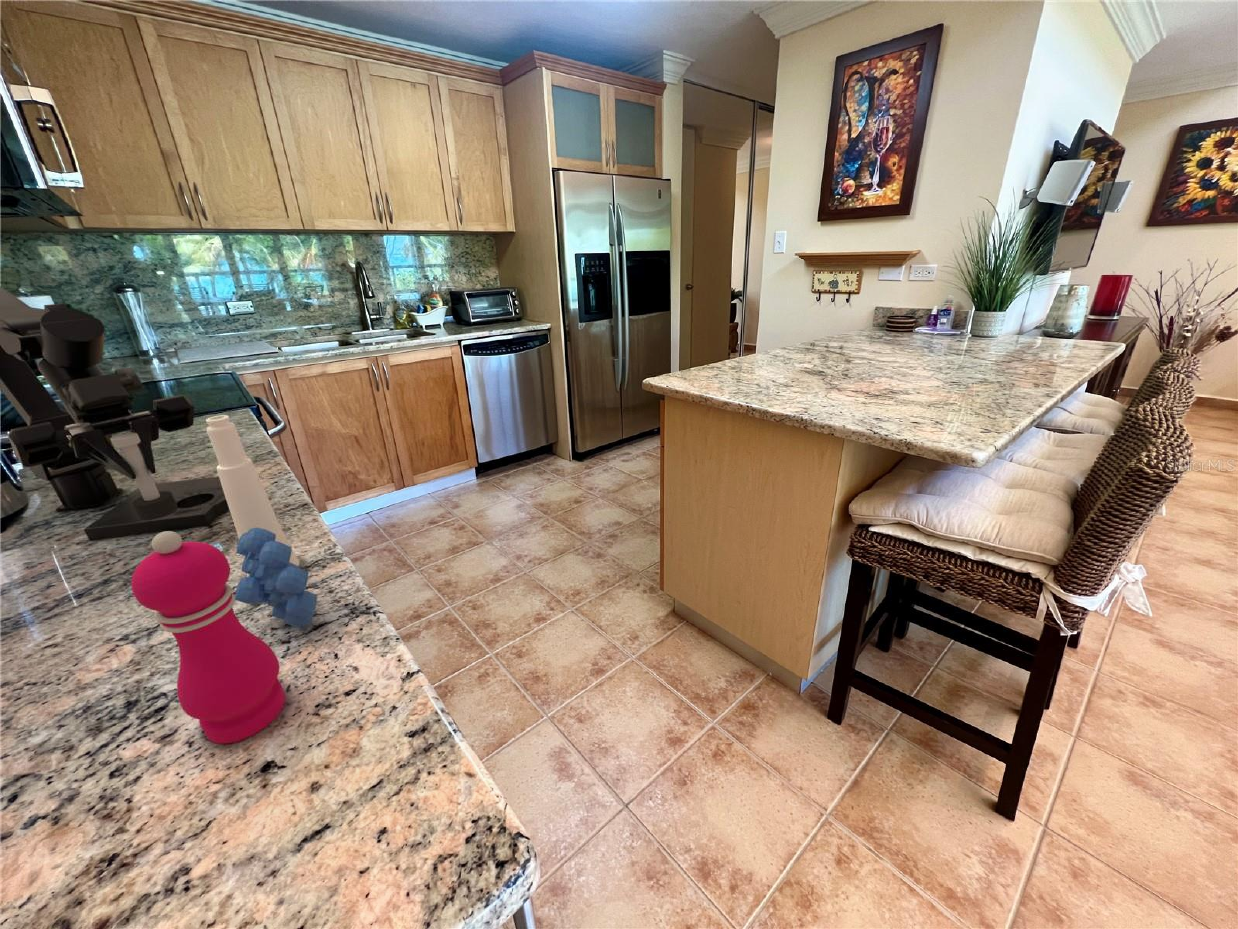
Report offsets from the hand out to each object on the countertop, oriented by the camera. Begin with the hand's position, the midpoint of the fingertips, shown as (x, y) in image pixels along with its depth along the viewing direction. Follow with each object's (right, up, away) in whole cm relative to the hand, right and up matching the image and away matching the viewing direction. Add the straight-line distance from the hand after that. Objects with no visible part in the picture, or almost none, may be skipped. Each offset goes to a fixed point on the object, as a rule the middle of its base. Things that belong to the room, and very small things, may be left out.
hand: (144, 474), depth 70 cm
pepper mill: (+32, -22, -23) cm, 46 cm away
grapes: (+28, -17, -12) cm, 35 cm away
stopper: (-1, -6, +3) cm, 7 cm away
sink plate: (-8, -6, +15) cm, 18 cm away
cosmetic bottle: (+20, -13, -2) cm, 24 cm away
